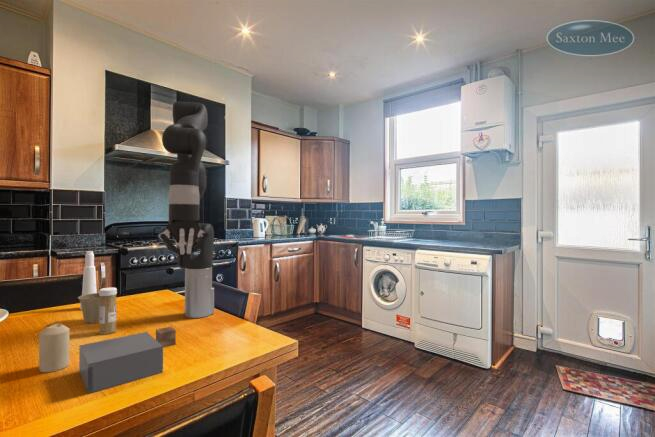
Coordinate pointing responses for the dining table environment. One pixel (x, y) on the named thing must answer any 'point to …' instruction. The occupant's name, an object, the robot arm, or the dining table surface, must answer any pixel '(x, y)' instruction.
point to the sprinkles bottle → (107, 310)
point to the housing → (119, 361)
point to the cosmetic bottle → (89, 275)
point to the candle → (53, 348)
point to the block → (166, 336)
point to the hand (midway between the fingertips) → (183, 268)
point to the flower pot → (90, 307)
